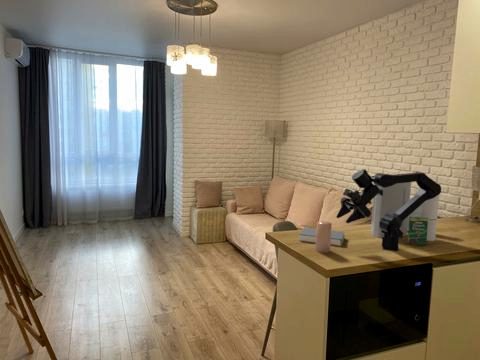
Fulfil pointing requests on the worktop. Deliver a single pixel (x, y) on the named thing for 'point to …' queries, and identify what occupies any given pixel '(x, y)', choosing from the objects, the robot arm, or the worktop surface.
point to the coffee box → (417, 230)
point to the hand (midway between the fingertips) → (341, 220)
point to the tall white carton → (390, 205)
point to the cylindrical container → (431, 216)
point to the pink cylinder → (323, 236)
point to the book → (310, 236)
